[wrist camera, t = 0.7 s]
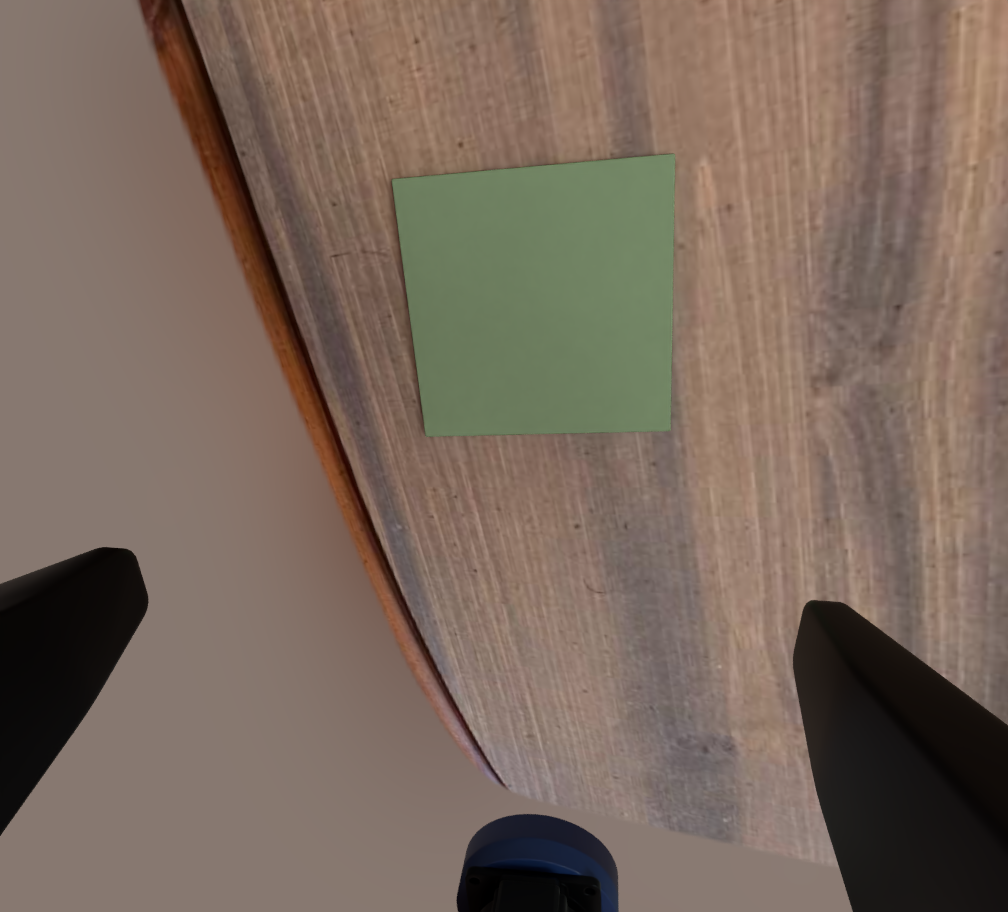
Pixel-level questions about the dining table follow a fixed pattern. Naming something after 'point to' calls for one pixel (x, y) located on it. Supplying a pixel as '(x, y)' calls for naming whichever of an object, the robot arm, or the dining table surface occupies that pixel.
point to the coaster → (541, 296)
